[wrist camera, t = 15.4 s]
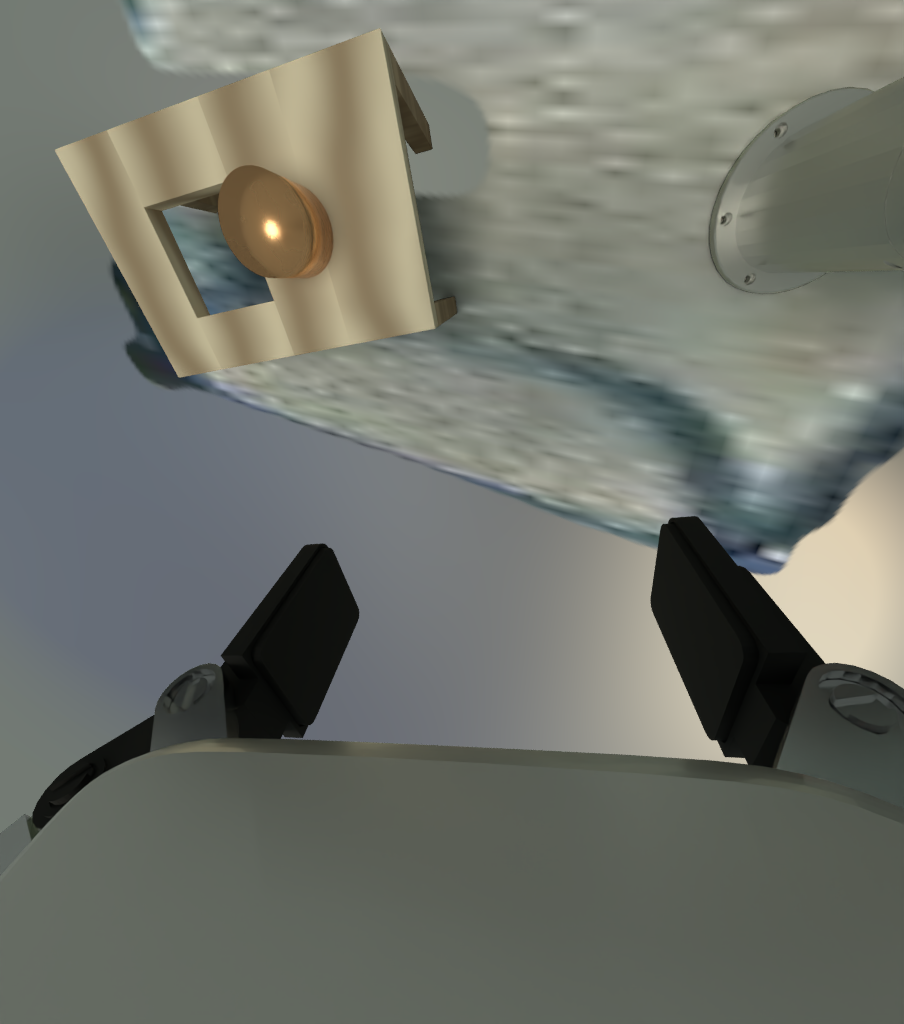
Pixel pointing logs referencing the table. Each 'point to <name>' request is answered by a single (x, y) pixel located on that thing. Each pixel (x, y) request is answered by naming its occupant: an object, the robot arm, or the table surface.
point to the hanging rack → (295, 156)
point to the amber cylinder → (274, 224)
